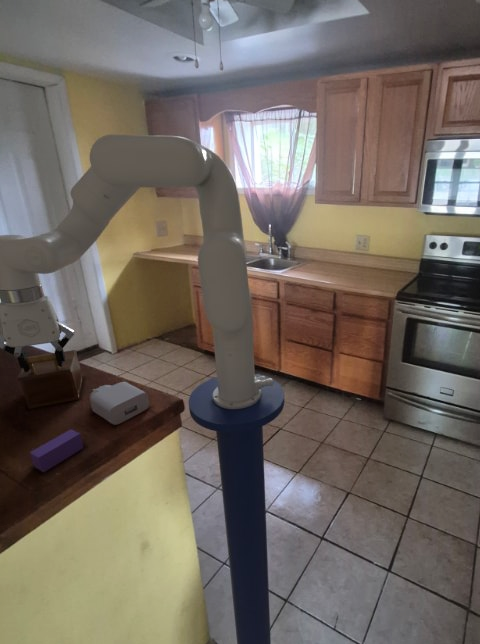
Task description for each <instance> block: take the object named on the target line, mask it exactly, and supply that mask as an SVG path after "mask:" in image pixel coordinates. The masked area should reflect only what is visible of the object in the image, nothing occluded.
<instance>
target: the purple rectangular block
mask: <svg viewBox="0 0 480 644" xmlns="http://www.w3.org/2000/svg"><path fill="white" fill-rule="evenodd" d="M83 449H84V445H83V440H82V437H81V434H80V432H77V431H75V430H73V429H69V430H67V431H65V432H63V433H62V434H59V435H58V436H57V437H55V438H52V439H51V440H49V441H48V442H45V443H44V444H42V445H40V446H38V447H37V448H35V449H33V450H31V451H30V452H29V455H30V458H31V461H32V463H33V467H34V468H35V469H36V470H39V471H40V472H42V473H45V472H47V471H49V470H51V469H52V468H53V467H55V466H57V465H58V464H61V463H62V462H63V461H65V460H66V459H68V458H70V457H71V456H73V455H75V454H76V453H78V452H79V451H81V450H83Z"/></svg>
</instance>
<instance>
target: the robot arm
mask: <svg viewBox="0 0 480 644" xmlns="http://www.w3.org/2000/svg"><path fill="white" fill-rule="evenodd" d="M89 164H90V167H89V168H88V169H87V171H86V172H85V173H84V174H83V175H82V176H81V177H80V178H79V179H78V180H77V182H76V183H75V184H74V185H73V186H72V188H71V189H70V197H71V200H72V206H71V208H70V210H69V212H68V214H67V215H66V216H65V218H63V220H62V221H61V222H60V223H59V224H58V225H57V227H56V228H55V229H54V230H53V231H49V232H46V233H42V234H39V235H35V236H31V237H26V236H24V235H20V234H2V235H0V325H1V328H2V333H0V349H1V350H4V351H5V352H6V353H8V354H11V355H13V356H14V357H15V358H17V362H18V364H19V367H20V369H22V368H23V369H24V372H28V371H29V369H30V367H29V364H27V362H26V358H27V357H29V356H28V352H26V351H25V350H24V347H31V346H37V345H44V344H51V346H52V347H53V348H54V349H55V350H54V353H55V356H56V360H57V363H58V366H59V367H61V366H62V365H63V362H64V361H65V360H66V358H65V354H64V352H65V351H64V347H65V346H67V344H68V343H69V341H70V340H71V339H72V338H73V337H74V335H75V334H76V331H75V330H74V329H72V328H70V327H69V326H67V325H66V324H63V323H62V322H60V320H59V318H58V315H57V313H56V309H55V307H54V305H53V303H52V301H51V300H50V298H49V297H48V296H47V295H45V293H44V290H43V286H42V282H41V278H40V275H41V274H42V275H46V274H52V273H55V272H57V271H59V270H62V269H64V268H65V267H68V266H69V265H71V264H74V263H76V262H77V261H78V260H80V259H81V258H82V257H83V255H84V254H85V253H87V251H88V250H89V249H90V248H91V247H92V246H93V245H94V243H96V241H97V240H98V239H99V237H100V236H101V235H102V234H103V232H104V231H105V229H106V228H107V227H108V225H109V223H110V222H111V220H113V218H114V217H115V216H116V215H117V214H118V212H119V211H120V210H121V209H122V208H123V207H124V206H125V205H126V204H127V202H128V201H130V199H131V198H132V197H133V196H134V195H135V194H136V193H137V191H139V189H140V188H158V189H159V188H164V189H165V188H166V189H167V188H169V189H170V188H171V189H172V188H174V189H186V188H193V189H194V191H195V192H196V194H197V198H198V204H199V205H198V206H199V214H200V219H201V228H202V237H203V238H202V239H203V240H202V242H201V245H200V246H199V250H198V253H197V268H198V276H199V281H200V288H201V289H200V290H201V295H202V302H203V309H204V314H205V317H206V319H207V321H208V322H209V323H210V325H211V327H212V335H213V349H214V360H215V370H216V377H217V383H218V387H217V388H216V389H215V390H214V392H213V395H212V396H213V401H214V403H215V404H217V405H218V406H220V407H222V408H226V409H242V408H246V407H249V406H251V405H253V404H255V403H256V402H258V401H259V399H260V398H261V389H262V387H267V386H272V385H273V380H274V379H273V378H271V377H269V378H270V379H265V376H266V375H264V376H261V377H257V378H256V377H255V374H256V372H255V352H254V349H255V348H254V322H253V321H254V320H253V296H252V295H253V294H252V291H251V288H250V286H249V276H248V265H247V257H248V254H247V247H246V243H245V236H244V228H243V219H242V212H241V204H240V203H241V202H240V196H239V195H240V194H239V189H238V186H237V182H236V180H235V176H234V175H233V173H232V171H231V168H229V166H228V164H227V163H226V162H225V161H224V159H222V158H221V157H220V156H219V155H218V154H217V153H215V151H212V150H211V149H210V148H207V147H205V146H204V145H202V144H200V143H199V142H196V141H194V140H192V139H190V138H187V137H184V136H178V135H133V134H116V133H115V134H113V133H112V134H107V135H106V134H105V135H102V136H101V137H99V138H98V139H96V140H95V141H94V142H93V144H92V146H91V148H90V152H89ZM62 333H64V334H65V335H64V336H63V337H62V338H61V334H62ZM272 379H273V380H272Z"/></svg>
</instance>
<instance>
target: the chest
mask: <svg viewBox="0 0 480 644" xmlns="http://www.w3.org/2000/svg"><path fill="white" fill-rule="evenodd" d="M83 378H84V376H83V373H82V369H81V365H80V361H79V357H78V354H77V352H76V356H75V359H74V363H73V367H72V370H71V372H70V373H64V374H58V375H52V376H46V377H40V378H34V379H28V380H22V381H19V385H20V387H21V390H22V393H23V396H24V399H25V403H26V405H27V409H28V410H30V409H31V410H32V409H36V408H41V407H47V406H50V405H51V406H52V405H57V404H61V403H67V402H72V401H78V400H80V396H81V390H82V385H83V380H84V379H83Z"/></svg>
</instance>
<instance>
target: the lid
mask: <svg viewBox="0 0 480 644" xmlns="http://www.w3.org/2000/svg"><path fill="white" fill-rule="evenodd" d="M76 353H77V350H76V349H73V350H66V351H64V354H65V358H66V360H65V361H64V362H63V365H62V366H61V367H59V366H58V363H57V360H56V356H55V352H52V353H46V354H39V355H33V356H28V357H27V358H26V362H27V364H29V367H30V369H29V371H28V372H24V369H23V368H21V370H20V372H19V373H18V375H17V377H16V380H17V381H18V382H20V381H22V380H28V379H34V378H40V377H46V376H52V375H58V374H64V373H70V372H71V370H72V367H73V363H74V359H75V356H76Z"/></svg>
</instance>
